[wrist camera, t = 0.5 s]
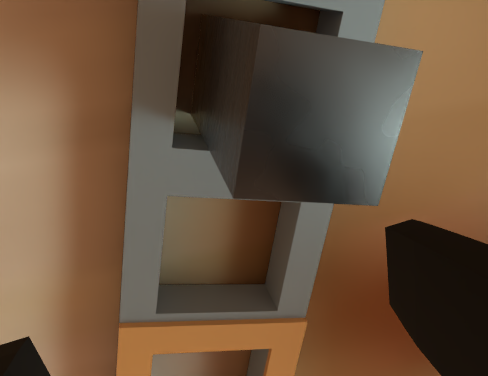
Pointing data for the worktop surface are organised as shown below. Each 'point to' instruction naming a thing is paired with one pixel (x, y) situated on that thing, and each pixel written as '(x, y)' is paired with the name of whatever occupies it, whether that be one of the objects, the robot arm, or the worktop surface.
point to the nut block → (299, 110)
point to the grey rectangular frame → (210, 186)
